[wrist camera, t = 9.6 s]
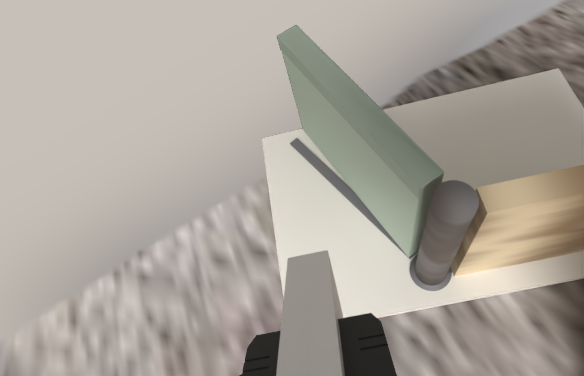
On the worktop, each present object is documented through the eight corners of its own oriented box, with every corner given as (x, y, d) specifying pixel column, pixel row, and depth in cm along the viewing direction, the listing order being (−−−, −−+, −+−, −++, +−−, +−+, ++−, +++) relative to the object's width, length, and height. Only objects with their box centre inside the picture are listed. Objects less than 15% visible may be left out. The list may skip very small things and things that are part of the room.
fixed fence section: (646, 214, 25) (789, 106, 16) (664, 242, 24) (826, 144, 15) (410, 262, 26) (425, 185, 17) (419, 290, 25) (439, 225, 16)
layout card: (556, 72, 30) (558, 67, 30) (675, 261, 23) (681, 258, 23) (262, 140, 32) (261, 137, 32) (289, 334, 25) (288, 333, 25)
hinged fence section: (425, 246, 25) (444, 171, 18) (407, 257, 25) (419, 188, 18) (317, 121, 31) (296, 24, 24) (302, 130, 31) (276, 36, 23)
